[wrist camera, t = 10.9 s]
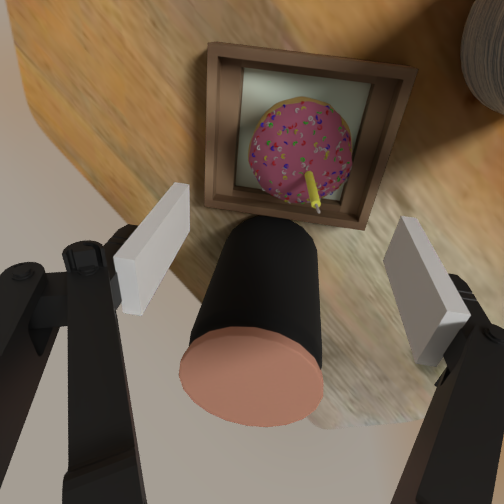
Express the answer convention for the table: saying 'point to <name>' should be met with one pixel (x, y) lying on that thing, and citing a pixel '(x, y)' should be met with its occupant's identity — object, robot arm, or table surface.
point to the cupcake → (301, 151)
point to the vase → (485, 53)
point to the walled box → (290, 86)
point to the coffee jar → (259, 328)
